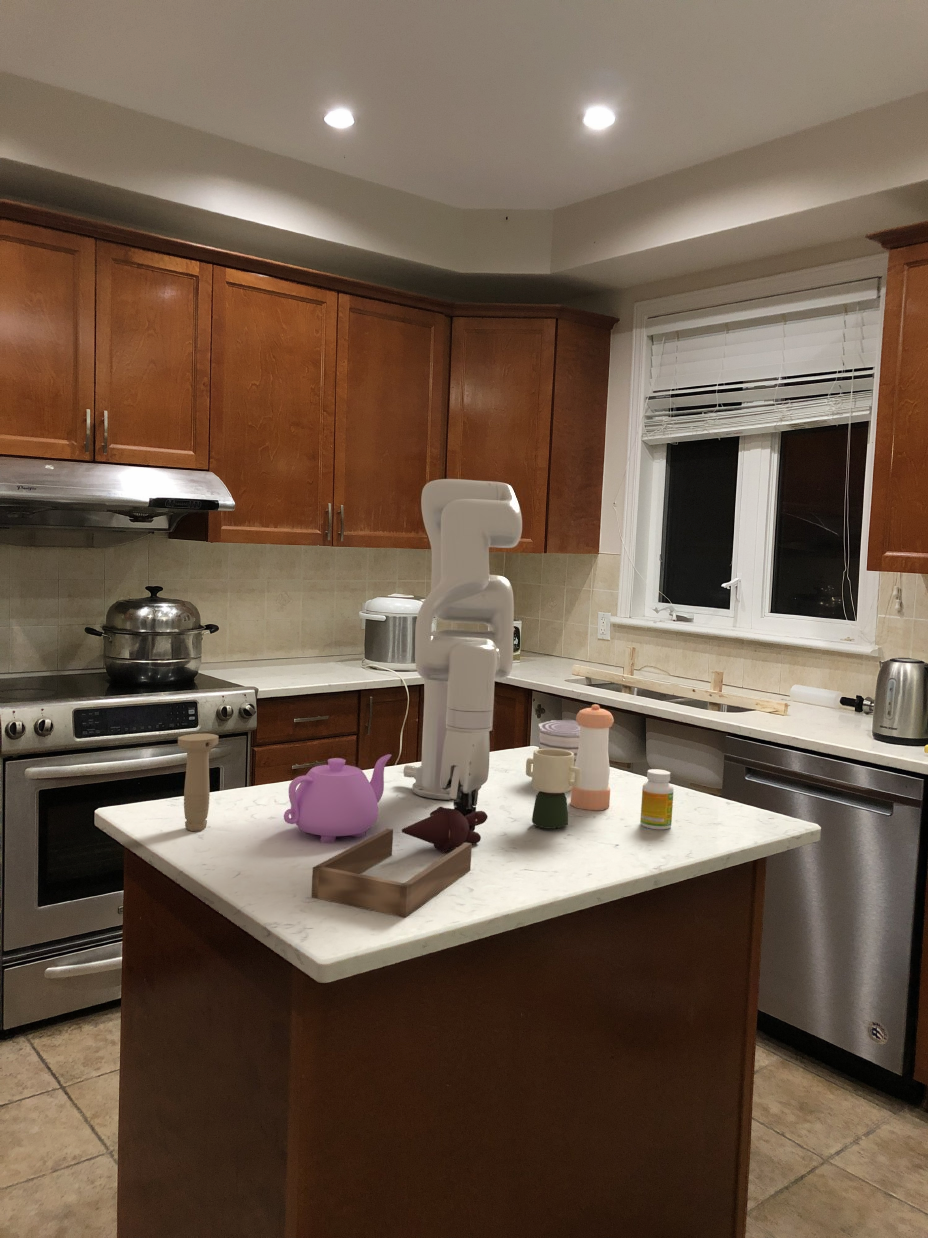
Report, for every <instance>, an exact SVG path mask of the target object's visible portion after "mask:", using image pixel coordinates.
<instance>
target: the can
mask: <svg viewBox="0 0 928 1238" xmlns="http://www.w3.org/2000/svg"><path fill="white" fill-rule="evenodd" d="M538 727H539V738H538V749H561V750H566V751H570V752H572V753H574V766H575V762H576V757H577V752H578V747H579V732H580V725H578V723H577V720H574V719H573V720H572V719H571V720H569V719H568V720H564V719H562V720H561V719H560V720H558V719H557V720H555V719H554V720H553V719H552V720H548V721H544V722H541V723H538Z"/></svg>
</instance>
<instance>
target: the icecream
mask: <svg viewBox="0 0 928 1238" xmlns="http://www.w3.org/2000/svg"><path fill="white" fill-rule="evenodd" d="M488 818H489V817H488V814H487V813H486V811H484V810H476V811H474V812H472V813H471V814H468V815H466V816H465V817H464V816H463V815H462V814H461V813H460V812H459V811H457V810H456V809H454V808H450V807H444V806H438V807H437V808H436V809H434V810H433V811H430V813H429V816H428V817H426V818H424V819H421V820H420V821H417V822H415V823H413V824H410V825H408V826H406V827H405V826H404V827H403V828H402V829H401V833H403V834H404V835H408V836H410V837H412V838H416V839H420V840H422V841H424V842H426V843H428V844H431V845H433V847H434V850H436V851H440V852H442V853H445V852H447V851H448V850H452V849H453V850H455V849H456V848H458V847H459V846H461V845H462V844H464V843H465V842H466V843H472V845H477V844H478V843H479V842H480V841H481V839H482V836H481V835H480V833H479V832H477V831H475V830H474V831H471V829H470V828H469V826H473V827H474V826H475V827H476V826H477V827H478V826H480V825H482V824H484V823H485V822H486V821H487V820H488Z"/></svg>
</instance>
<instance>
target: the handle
mask: <svg viewBox="0 0 928 1238" xmlns="http://www.w3.org/2000/svg"><path fill="white" fill-rule="evenodd" d="M177 745H178V747H180V748H181V749H182V750H185V751H186V768H185V779H184V790H183V791H184V792H183V810H184V812H183V813H184V819H185V820H186V821H184V824H185V825H184V826H185V829H186V831H187V830H189V831H190V832H195V831H196V832H197V831H198V832H201V831H203V830H204V829H206V828H207V824H208V820H207V819H208V815H209V808H210V806H209V805H210V796H211V795H210V790H211V789H210V767H209V766H210V764H209V761H210V760H209V758H210V757H209V756H210V751H211V750H212V749H213V748H215V747H217V745H219V735H217V734H213V733H206V732H205V733H193V734H191V733H190V734H186V735H182V736H178V737H177Z"/></svg>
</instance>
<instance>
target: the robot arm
mask: <svg viewBox="0 0 928 1238" xmlns="http://www.w3.org/2000/svg"><path fill="white" fill-rule="evenodd" d="M420 501H421V514H422V520H423V525H424V527H425V531H426V534H427V536H428V541H429V544H430V549H431V579H430V580H431V581H430V584H431V586H430V593H429V594H428V595H427V596H426V598H425V599H424V600H423V602H422V604H421V606H420V607H419V610H418V613H417V616H416V620H415V621H416V622H415V627H414V628H415V629H414V630H415V631H414V632H415V635H414V636H415V637H414V639H415V640H414V661H415V662H414V664H415V668H416V672H417V674H418V675H419V676H420V677H421V678H422V679H423V684H424V685H423V686H424V693H423V694H424V695H423V696H424V699H423V701H424V702H423V719H422V720H423V721H422V722H423V723H422V739H421V740H422V742H421V762H420V763H421V764H420V765H419V766H414V765H408V764H405V766H404V768H403V776H404V777H405V778H413V779H414V780H415V782H414V783H412V785H411V788H412V790H411V791H412V792H413V794H416V795H417V796H420V797H422V798H428V799H433V800H445V801H449V802H450V801H451V802H452V805H453V809H456V810H457V811H459V812H460V813H461V814H462V815H463V816H464V817H465V816H466V815H468V814H471V813H472V812H474V811H477V807H476V806H477V804H478V798H479V797H478V796H479V791H480V790H481V789H482V786H483V785H484V784H486V782H487V781H488V778H489V773H490V772H489V771H490V731H493V724H494V723H493V721H494V702H495V701H494V700H495V681H501V680H504V679H507V678H508V677H509V676H510V674H511V672H512V670H513V662H514V627H515V626H514V624H515V623H514V620H515V619H514V617H515V614H514V613H515V606H514V604H515V602H514V592H513V587H512V584H511V582H510V580H508V579H507V578H506V577H505V576H502V575H498V574H490V553H489V551H490V549H489V548H506V549H511V548H515V547H516V546H517V545H518V544H519V542H520V541H521V537H522V533H523V516H522V511H521V508H520V504H519V502H518V498H517V497H516V494H515V492H514V489H513V487H512V486H511V485H509V484H508V483H505V482H500V481H491V480H490V481H489V480H473V479H459V478H457V479H456V478H443V479H436V480H435V479H434V480H431V481H429V482H427V483H426V484H425V485H424V487H423V488H422V491H421V500H420ZM434 618H435V619H436V620H439V621H442V622H448V623H464V624H484V625H486V626H487V627H488V628H489V630H474V629H471V630H470V629H459V628H458V629H456V628H455V629H453V628H443V629H437V630H432V628H433V627H432V625H433V620H434ZM469 828H470V829H471V831H474V832H475V829H476V826H474V827H473V826H469Z"/></svg>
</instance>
